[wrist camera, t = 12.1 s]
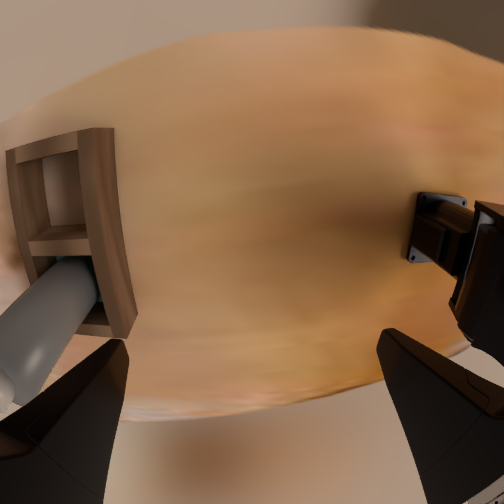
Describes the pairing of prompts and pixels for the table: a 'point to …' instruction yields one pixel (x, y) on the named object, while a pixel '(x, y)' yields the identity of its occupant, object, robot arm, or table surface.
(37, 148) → the box
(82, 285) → the slate plug
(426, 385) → the robot arm
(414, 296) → the table surface
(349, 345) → the table surface
